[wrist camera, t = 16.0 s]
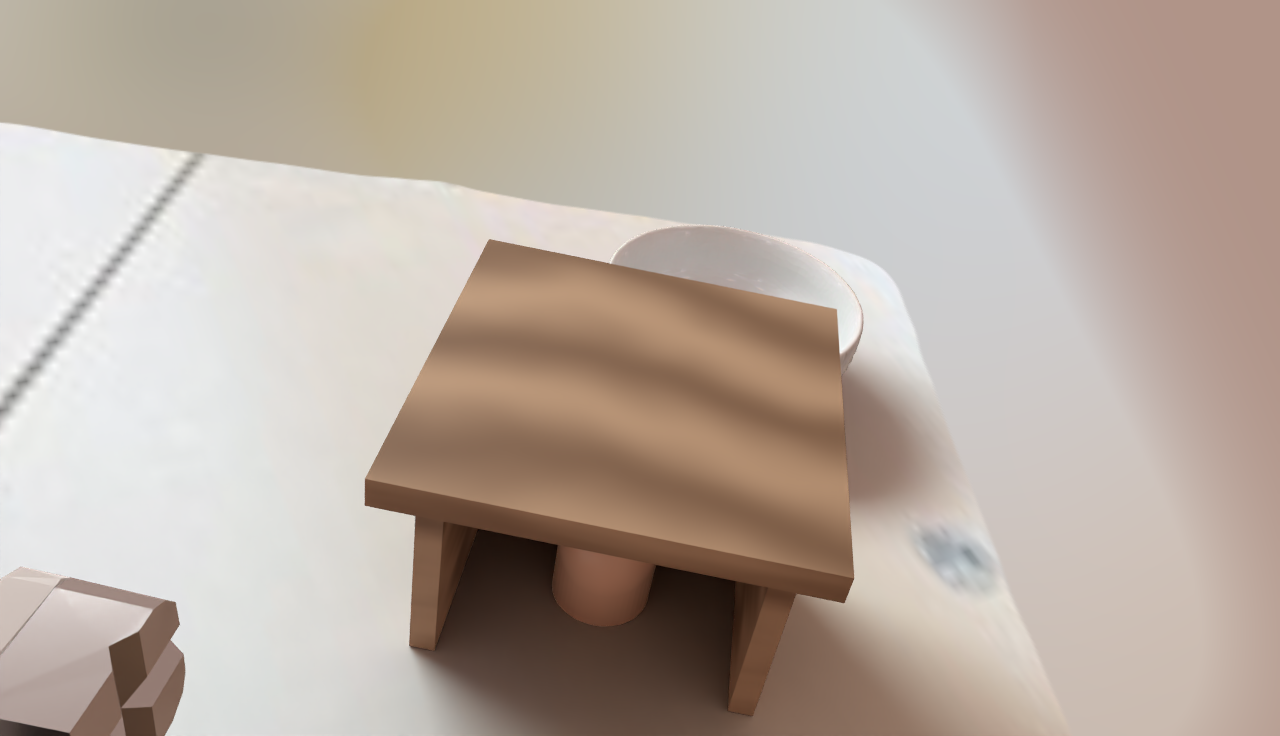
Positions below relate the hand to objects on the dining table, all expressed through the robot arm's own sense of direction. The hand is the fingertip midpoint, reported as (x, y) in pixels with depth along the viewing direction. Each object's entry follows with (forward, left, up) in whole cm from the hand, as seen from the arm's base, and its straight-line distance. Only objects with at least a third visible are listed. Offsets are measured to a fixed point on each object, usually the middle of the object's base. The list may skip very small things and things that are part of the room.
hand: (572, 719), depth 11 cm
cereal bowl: (+34, +40, -32) cm, 61 cm away
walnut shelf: (+16, +22, -31) cm, 42 cm away
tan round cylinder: (+18, +25, -31) cm, 44 cm away
